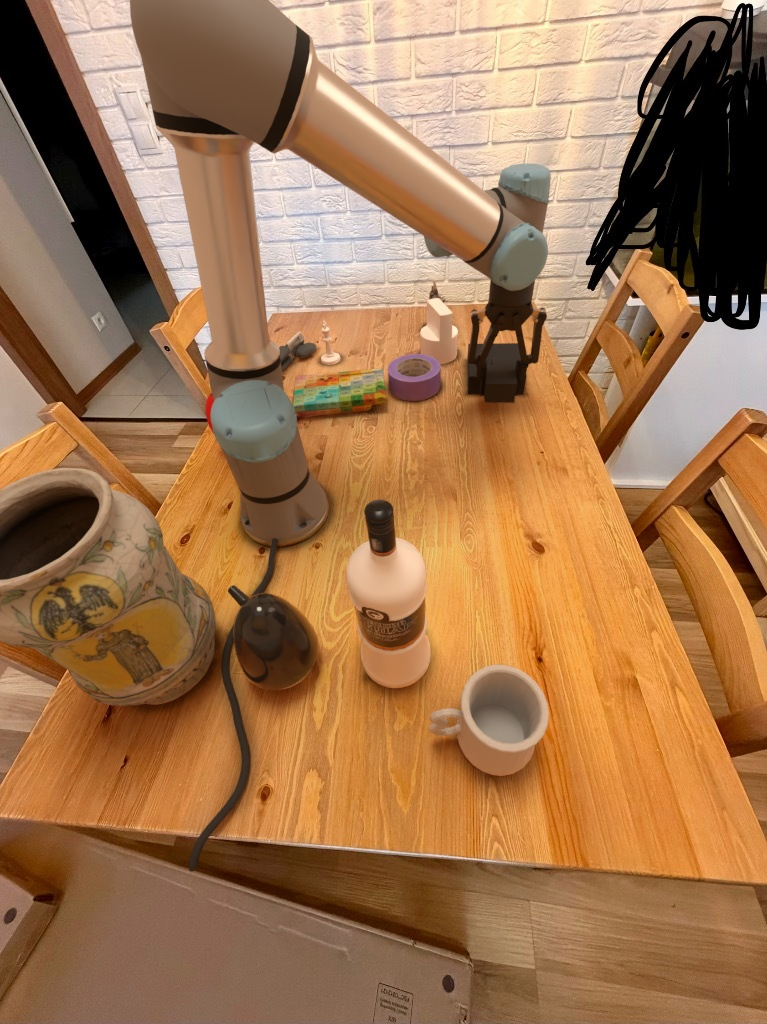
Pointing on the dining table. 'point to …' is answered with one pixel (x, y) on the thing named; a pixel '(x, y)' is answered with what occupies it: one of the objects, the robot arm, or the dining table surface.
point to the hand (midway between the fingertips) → (498, 391)
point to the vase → (99, 590)
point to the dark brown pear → (272, 640)
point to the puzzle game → (338, 392)
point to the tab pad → (500, 382)
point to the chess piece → (328, 348)
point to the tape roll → (414, 377)
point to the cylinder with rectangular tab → (439, 333)
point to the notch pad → (496, 351)
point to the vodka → (389, 601)
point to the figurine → (435, 294)
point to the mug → (497, 719)
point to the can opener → (295, 350)
